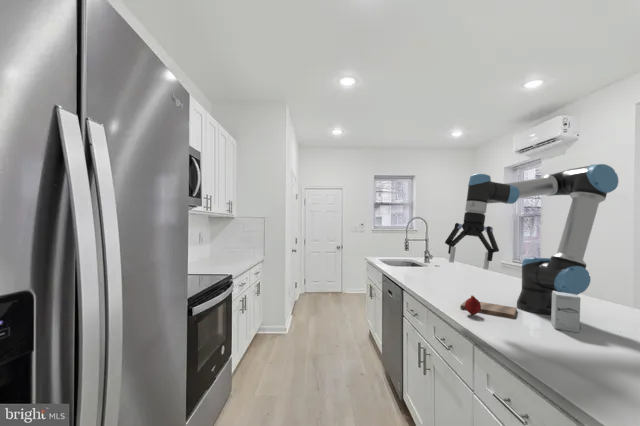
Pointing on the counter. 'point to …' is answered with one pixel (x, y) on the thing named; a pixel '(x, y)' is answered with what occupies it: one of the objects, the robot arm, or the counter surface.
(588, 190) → the robot arm
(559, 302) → the supplement box
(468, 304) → the onion
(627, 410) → the counter surface
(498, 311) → the walnut board
